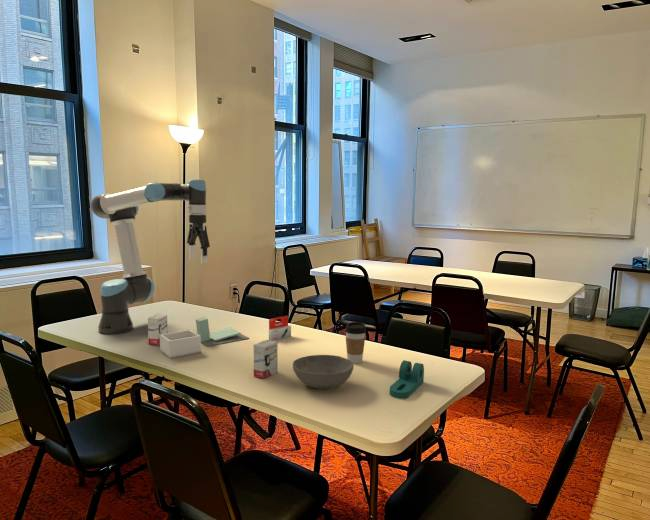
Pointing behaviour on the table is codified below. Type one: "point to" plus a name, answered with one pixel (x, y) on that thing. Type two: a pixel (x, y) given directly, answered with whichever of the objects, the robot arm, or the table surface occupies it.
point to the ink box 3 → (279, 328)
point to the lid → (216, 335)
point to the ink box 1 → (156, 328)
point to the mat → (225, 340)
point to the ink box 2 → (265, 358)
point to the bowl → (323, 370)
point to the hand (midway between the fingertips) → (198, 261)
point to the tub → (180, 343)
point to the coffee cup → (355, 341)
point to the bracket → (407, 380)
